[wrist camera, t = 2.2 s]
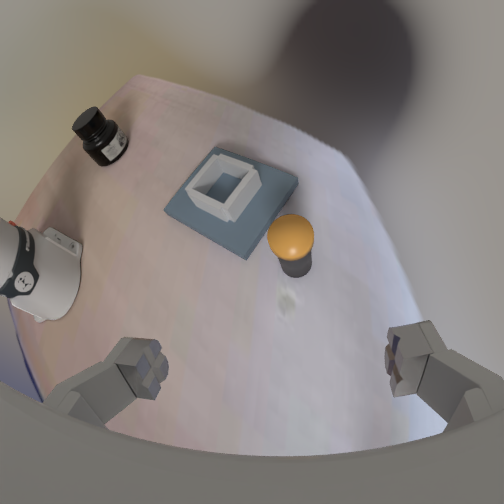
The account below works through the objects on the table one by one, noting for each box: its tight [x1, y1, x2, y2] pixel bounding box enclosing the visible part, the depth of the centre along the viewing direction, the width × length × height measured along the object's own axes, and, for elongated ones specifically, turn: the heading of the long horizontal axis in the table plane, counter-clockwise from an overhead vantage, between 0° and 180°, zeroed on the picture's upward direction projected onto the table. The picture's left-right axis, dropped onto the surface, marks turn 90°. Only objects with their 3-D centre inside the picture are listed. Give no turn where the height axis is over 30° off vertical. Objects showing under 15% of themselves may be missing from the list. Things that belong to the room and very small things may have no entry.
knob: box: [267, 214, 314, 278], centre depth 33 cm, size 5×5×8 cm
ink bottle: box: [72, 107, 128, 166], centre depth 50 cm, size 10×9×12 cm
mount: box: [164, 147, 299, 260], centre depth 40 cm, size 16×14×5 cm
